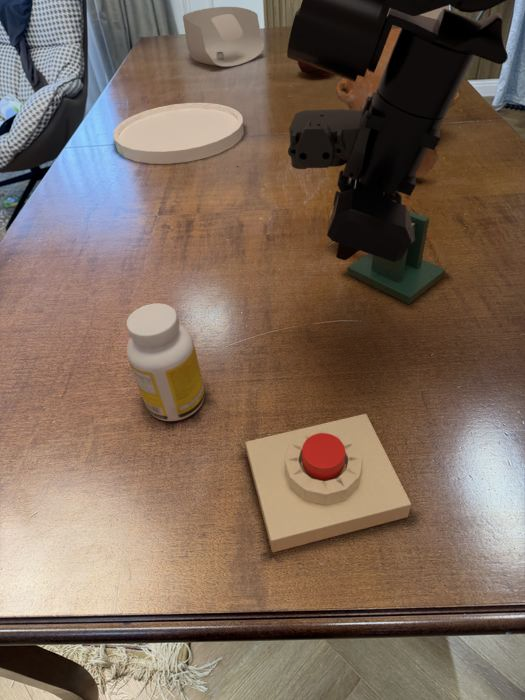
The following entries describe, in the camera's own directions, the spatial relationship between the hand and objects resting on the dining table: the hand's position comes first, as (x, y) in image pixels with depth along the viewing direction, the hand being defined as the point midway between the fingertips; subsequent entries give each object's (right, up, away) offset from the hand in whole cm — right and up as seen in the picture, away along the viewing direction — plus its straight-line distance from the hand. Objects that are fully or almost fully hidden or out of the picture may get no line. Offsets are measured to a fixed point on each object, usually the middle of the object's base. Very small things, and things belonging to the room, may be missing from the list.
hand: (340, 257), depth 51 cm
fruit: (+7, +64, +84) cm, 106 cm away
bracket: (+10, +1, +17) cm, 20 cm away
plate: (-26, +37, +59) cm, 75 cm away
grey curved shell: (-20, +79, +102) cm, 131 cm away
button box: (-2, -22, -5) cm, 22 cm away
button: (-3, -19, -7) cm, 21 cm away
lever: (+6, +6, +17) cm, 19 cm away
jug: (+17, +28, +46) cm, 57 cm away
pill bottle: (-17, -15, +4) cm, 23 cm away
